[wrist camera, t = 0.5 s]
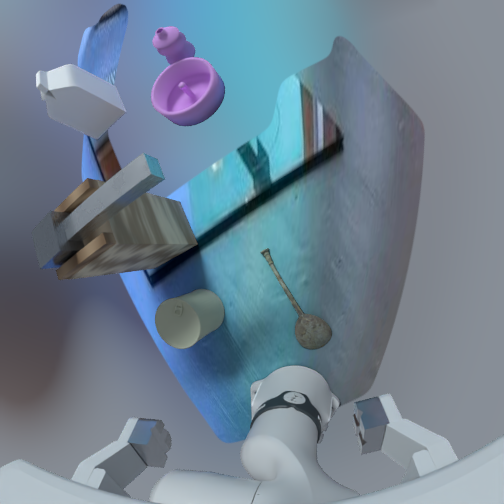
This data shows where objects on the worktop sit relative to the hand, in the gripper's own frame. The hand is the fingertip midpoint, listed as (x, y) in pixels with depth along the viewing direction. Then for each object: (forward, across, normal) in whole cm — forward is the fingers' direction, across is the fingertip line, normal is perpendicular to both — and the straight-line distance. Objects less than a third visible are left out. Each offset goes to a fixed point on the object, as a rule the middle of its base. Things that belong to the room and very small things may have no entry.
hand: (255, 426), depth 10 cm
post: (+50, -21, +1) cm, 55 cm away
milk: (+64, -37, +37) cm, 82 cm away
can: (+45, -15, -15) cm, 50 cm away
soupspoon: (+42, +4, -14) cm, 45 cm away
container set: (+59, -11, +35) cm, 69 cm away
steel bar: (+26, -20, +9) cm, 34 cm away
